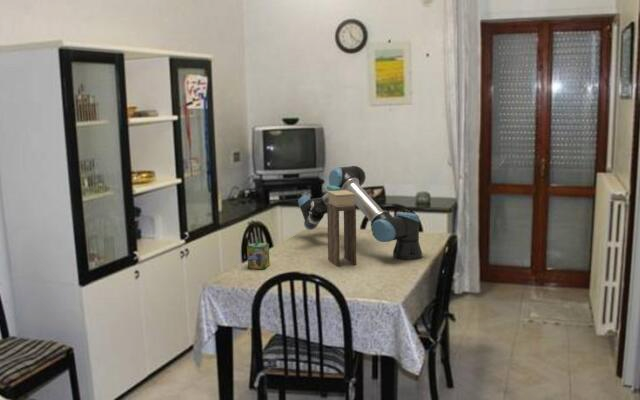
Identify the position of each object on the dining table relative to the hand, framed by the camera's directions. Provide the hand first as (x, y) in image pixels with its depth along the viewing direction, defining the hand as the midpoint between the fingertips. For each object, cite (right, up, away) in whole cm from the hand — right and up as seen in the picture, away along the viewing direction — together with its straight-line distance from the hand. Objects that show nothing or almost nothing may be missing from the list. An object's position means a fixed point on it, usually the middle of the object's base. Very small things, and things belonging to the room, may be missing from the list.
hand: (325, 202), depth 343 cm
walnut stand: (+8, -30, -21) cm, 38 cm away
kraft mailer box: (+8, -1, -26) cm, 27 cm away
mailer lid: (+6, +5, -22) cm, 24 cm away
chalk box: (-33, -32, -27) cm, 54 cm away
